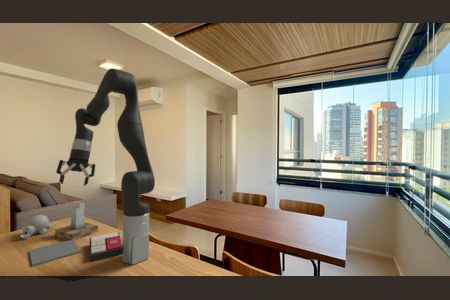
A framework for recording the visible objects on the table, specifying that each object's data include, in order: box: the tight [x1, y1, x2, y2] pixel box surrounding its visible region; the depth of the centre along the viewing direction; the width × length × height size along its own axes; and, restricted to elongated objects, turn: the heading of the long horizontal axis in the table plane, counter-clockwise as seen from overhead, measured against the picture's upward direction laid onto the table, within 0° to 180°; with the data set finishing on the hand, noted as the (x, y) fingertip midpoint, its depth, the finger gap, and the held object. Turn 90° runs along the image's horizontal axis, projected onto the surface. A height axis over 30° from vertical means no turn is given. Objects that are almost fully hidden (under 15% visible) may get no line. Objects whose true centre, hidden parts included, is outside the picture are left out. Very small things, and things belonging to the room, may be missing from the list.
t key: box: [70, 200, 86, 230], centre depth 98 cm, size 6×4×15 cm, turn 69°
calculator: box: [89, 231, 123, 263], centre depth 85 cm, size 11×4×15 cm
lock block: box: [54, 221, 99, 242], centre depth 98 cm, size 12×12×3 cm
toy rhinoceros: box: [20, 214, 53, 240], centre depth 95 cm, size 7×12×8 cm, turn 171°
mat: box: [28, 240, 82, 268], centre depth 82 cm, size 14×14×1 cm
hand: (73, 184), depth 94 cm, fingers open, 8 cm apart
